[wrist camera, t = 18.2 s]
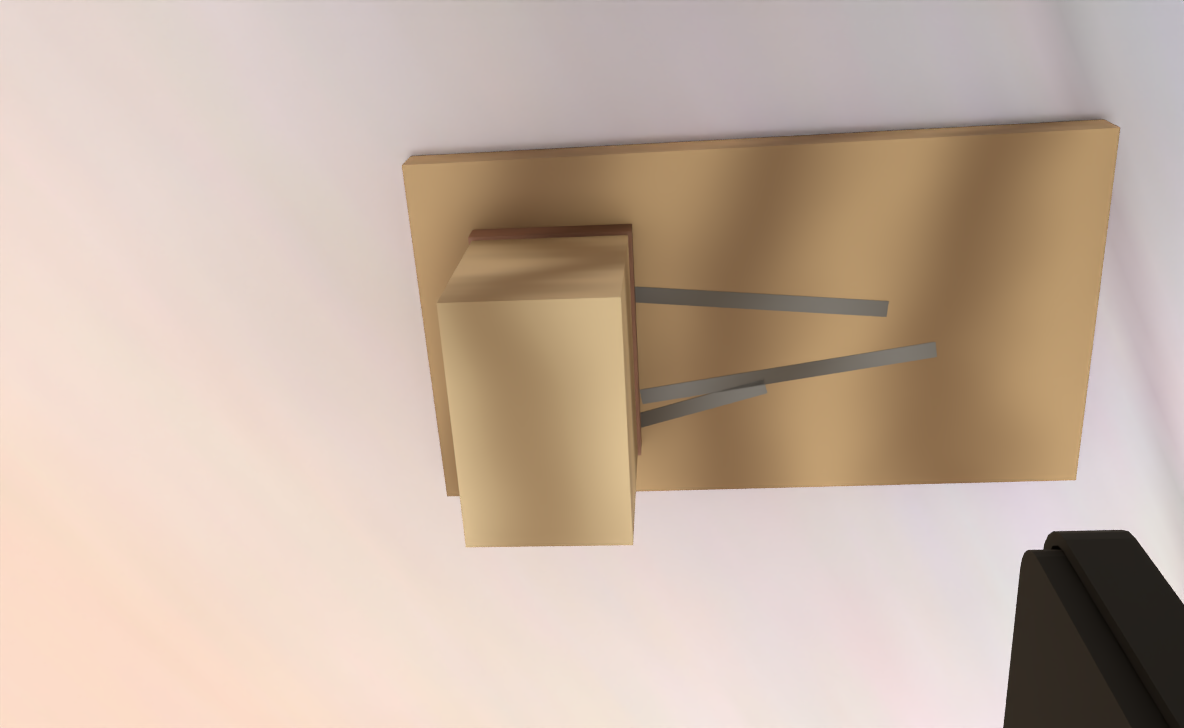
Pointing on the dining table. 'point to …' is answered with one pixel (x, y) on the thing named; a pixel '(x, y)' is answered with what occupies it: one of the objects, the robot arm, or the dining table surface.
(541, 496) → the block
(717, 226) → the board
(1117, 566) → the robot arm
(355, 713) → the dining table surface
